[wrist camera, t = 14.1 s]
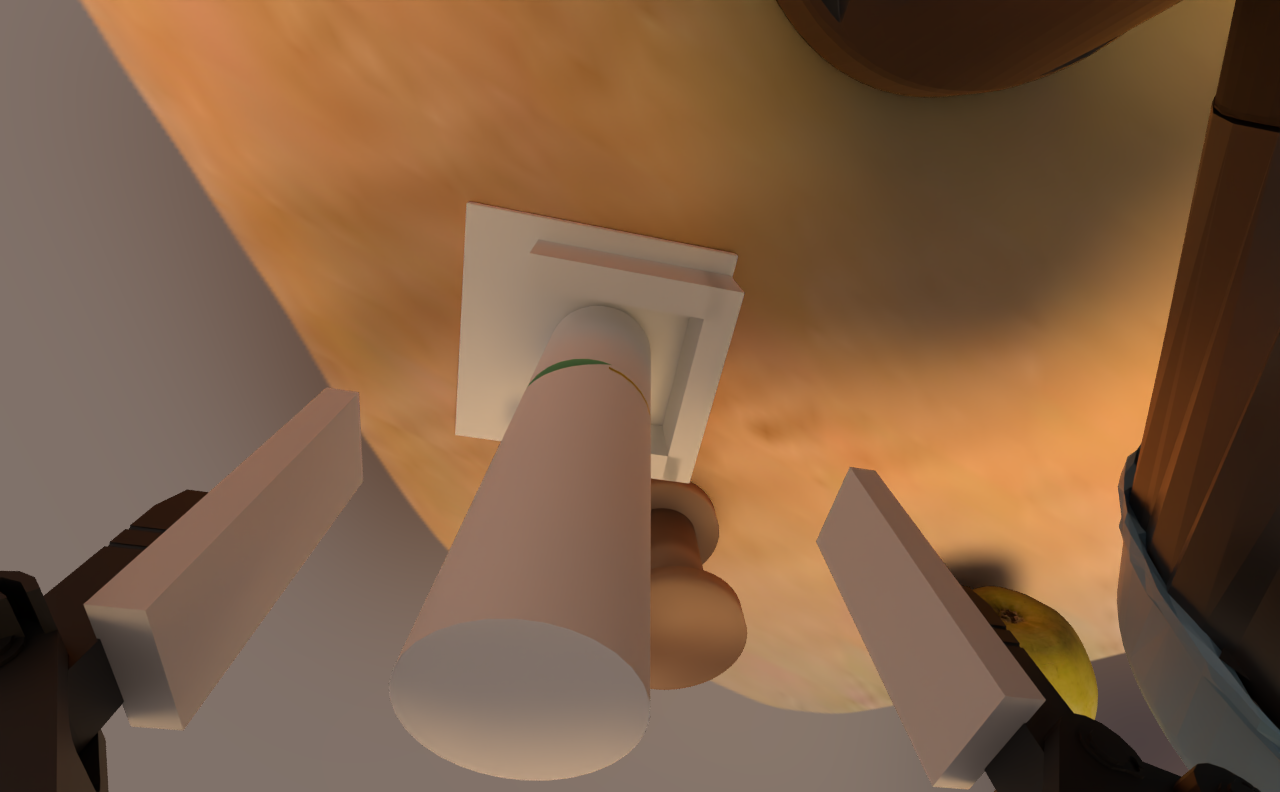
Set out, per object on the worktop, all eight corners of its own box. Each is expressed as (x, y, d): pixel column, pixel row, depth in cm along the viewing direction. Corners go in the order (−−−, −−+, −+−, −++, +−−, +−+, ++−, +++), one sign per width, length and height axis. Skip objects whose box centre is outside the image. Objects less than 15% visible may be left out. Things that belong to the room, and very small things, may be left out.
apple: (878, 667, 33) (950, 813, 26) (901, 561, 29) (995, 699, 22) (999, 656, 34) (1103, 799, 26) (1039, 549, 29) (1176, 683, 22)
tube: (668, 333, 22) (697, 672, 8) (624, 415, 23) (588, 802, 10) (572, 287, 21) (429, 581, 7) (533, 376, 23) (363, 740, 9)
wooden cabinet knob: (610, 468, 25) (610, 578, 19) (728, 483, 26) (766, 594, 20) (590, 560, 28) (585, 683, 22) (699, 572, 29) (724, 694, 23)
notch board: (469, 201, 20) (447, 212, 17) (735, 253, 21) (754, 271, 18) (457, 429, 24) (439, 466, 21) (678, 459, 25) (687, 498, 23)
